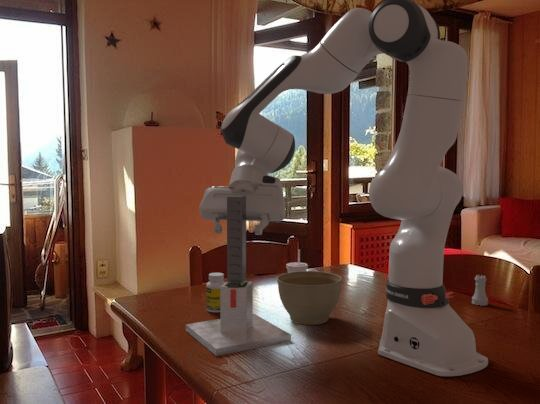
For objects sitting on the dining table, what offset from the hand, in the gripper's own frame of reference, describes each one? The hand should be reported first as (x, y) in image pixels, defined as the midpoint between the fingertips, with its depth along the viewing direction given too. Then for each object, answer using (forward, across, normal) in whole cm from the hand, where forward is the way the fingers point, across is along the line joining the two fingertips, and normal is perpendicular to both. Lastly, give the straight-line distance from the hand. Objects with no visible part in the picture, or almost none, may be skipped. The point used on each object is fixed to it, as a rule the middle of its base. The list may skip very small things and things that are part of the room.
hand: (237, 232), depth 117 cm
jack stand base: (+17, 0, +16) cm, 24 cm away
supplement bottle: (+4, -10, +30) cm, 32 cm away
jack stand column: (+12, 0, +11) cm, 16 cm away
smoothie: (-8, +9, +42) cm, 44 cm away
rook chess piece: (-10, +60, +44) cm, 75 cm away
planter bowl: (+7, +15, +27) cm, 32 cm away
